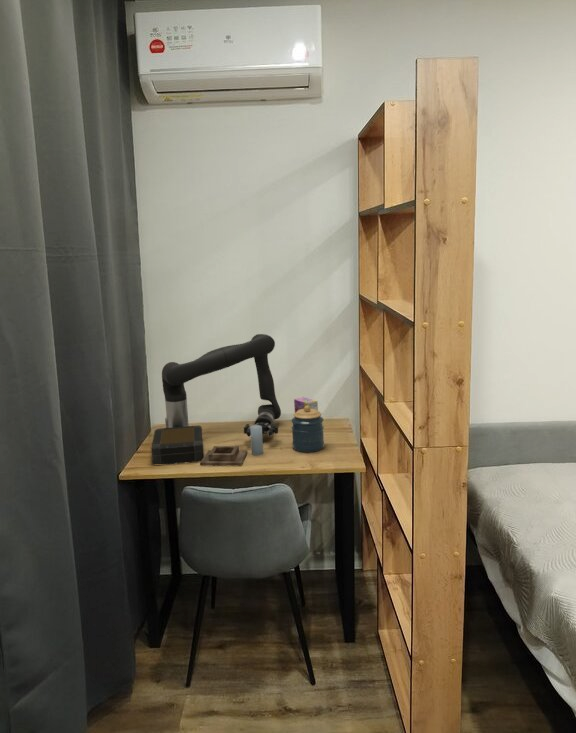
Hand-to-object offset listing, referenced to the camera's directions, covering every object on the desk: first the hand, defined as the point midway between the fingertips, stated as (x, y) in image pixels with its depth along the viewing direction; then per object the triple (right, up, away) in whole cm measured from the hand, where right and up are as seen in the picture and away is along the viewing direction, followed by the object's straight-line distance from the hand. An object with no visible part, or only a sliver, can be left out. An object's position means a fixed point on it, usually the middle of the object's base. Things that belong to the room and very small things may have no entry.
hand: (259, 434), depth 248 cm
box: (+20, +1, +31) cm, 37 cm away
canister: (+20, -6, 0) cm, 21 cm away
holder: (-13, -9, -10) cm, 19 cm away
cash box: (-33, -8, -1) cm, 34 cm away
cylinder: (0, -7, -4) cm, 8 cm away
